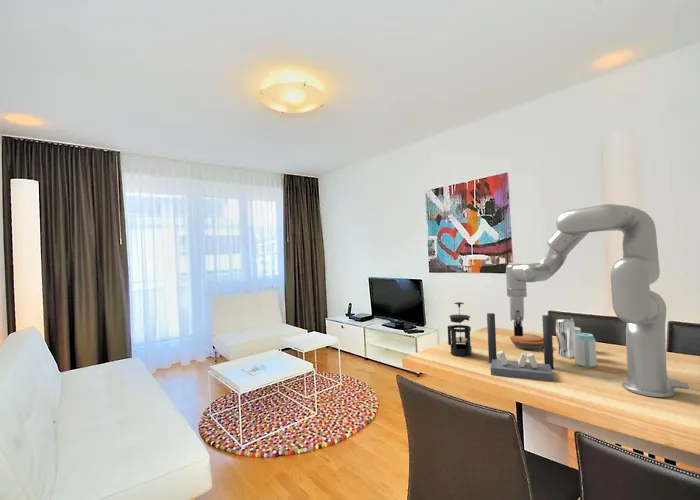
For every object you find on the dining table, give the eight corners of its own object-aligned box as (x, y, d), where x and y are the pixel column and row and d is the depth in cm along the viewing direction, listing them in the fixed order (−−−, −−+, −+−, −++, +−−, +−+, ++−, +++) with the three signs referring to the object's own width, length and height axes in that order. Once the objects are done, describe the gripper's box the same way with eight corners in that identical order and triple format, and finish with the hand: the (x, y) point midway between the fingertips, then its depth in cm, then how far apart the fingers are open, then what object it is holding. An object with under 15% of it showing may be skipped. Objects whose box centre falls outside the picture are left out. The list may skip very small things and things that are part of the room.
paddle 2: (537, 363, 127) (532, 352, 128) (537, 367, 123) (532, 355, 124) (532, 365, 128) (527, 353, 128) (532, 368, 124) (527, 356, 125)
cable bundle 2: (553, 367, 132) (550, 315, 132) (554, 369, 129) (551, 316, 130) (544, 366, 133) (542, 315, 134) (545, 368, 131) (542, 316, 131)
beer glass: (579, 358, 141) (577, 322, 141) (560, 358, 142) (559, 322, 143) (571, 353, 148) (570, 318, 148) (554, 353, 149) (552, 318, 149)
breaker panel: (550, 370, 128) (549, 364, 128) (553, 381, 118) (552, 374, 118) (492, 365, 137) (492, 359, 137) (490, 374, 127) (490, 367, 127)
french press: (478, 354, 152) (475, 302, 152) (464, 358, 147) (462, 305, 147) (456, 348, 162) (454, 300, 162) (443, 352, 156) (440, 302, 157)
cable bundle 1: (497, 361, 141) (494, 313, 141) (496, 364, 138) (494, 314, 138) (489, 361, 142) (487, 313, 142) (488, 363, 139) (486, 314, 140)
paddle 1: (507, 361, 131) (502, 350, 132) (507, 364, 128) (502, 352, 128) (502, 362, 132) (498, 351, 133) (502, 365, 128) (497, 354, 129)
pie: (507, 348, 159) (506, 338, 159) (513, 341, 172) (512, 331, 172) (545, 353, 150) (544, 341, 150) (548, 344, 163) (548, 334, 163)
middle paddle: (523, 364, 129) (527, 353, 128) (523, 367, 125) (527, 356, 125) (518, 362, 130) (522, 351, 129) (518, 365, 126) (522, 354, 126)
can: (573, 361, 138) (572, 331, 138) (594, 363, 135) (593, 332, 135) (576, 367, 132) (574, 335, 132) (598, 369, 128) (597, 337, 129)
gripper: (507, 290, 155) (508, 328, 154) (506, 295, 139) (508, 337, 139) (525, 290, 151) (527, 329, 151) (527, 295, 136) (529, 338, 136)
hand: (518, 333), depth 145 cm, fingers open, 9 cm apart
